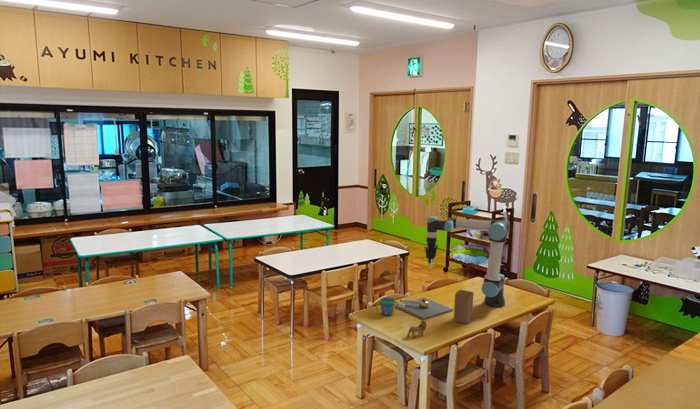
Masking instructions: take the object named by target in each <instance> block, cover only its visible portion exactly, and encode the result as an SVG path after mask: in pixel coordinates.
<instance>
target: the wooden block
mask: <svg viewBox="0 0 700 409" xmlns="http://www.w3.org/2000/svg"><path fill="white" fill-rule="evenodd" d="M473 303H474V292H473V291H470V290H469V291H468V290H466V289H465V290H464V289H459V290H457V292H455V294H454V308H453V321H454V322H458V323H460V324H461V323H462V324H465V325H468V324H469V323H470V322H471V321H472V320H473V310H474V309H473V308H474V304H473Z"/></svg>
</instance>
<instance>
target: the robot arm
mask: <svg viewBox="0 0 700 409" xmlns="http://www.w3.org/2000/svg"><path fill="white" fill-rule="evenodd" d="M454 229H459V230H460V229H461V230H471V231H472V230H473V231H483V232H488V241H489V242H490V243H489V244H490V245H489V252H488V261H487V267H486V268H487V270H486V274H485V275H484V276H483V283H482V285H481V287H480V288H481V293H482V294H483V295H484V296H485V297H484V299H483V303H484V305H486V306H488V307H493V308H503V307H504V306H506V300H505V296H504V295H505V294H504V288H505V280H506V279H505V275H504V274H502V273H500V272H501V264H502V256H503V247H504V244H506V243H507V235H508V234H509V233H510V230H511V226H510V224H509V223H508V221H506V220H504V219H491V220H484V219H483V220H482V219H468V218H467V219H466V218H455V217H452V216H451V217H448V218H447V219H445V220H439V219H438V217H437V216H434V215H433V216H432V215H431V216H428V217H427V221H426V240H425V241H426V246H424V247H423V248H424V250H425V257H426V258H425V259H428V260H427V262H428V268H431V269H432V268H433V266H434V265H433V264H434V260H435V258H436V257H437V256H436V255H437V251H438V247H439V245H438V244H437V236H438V231H441V232H442V231H443V232H453V230H454Z"/></svg>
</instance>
